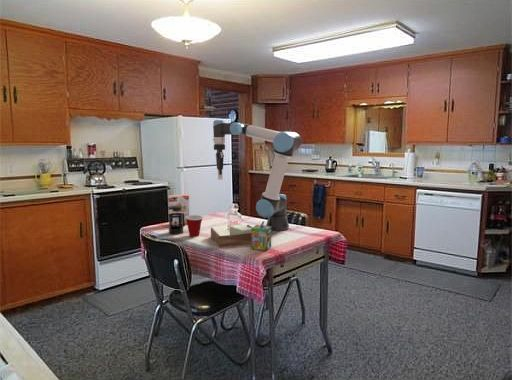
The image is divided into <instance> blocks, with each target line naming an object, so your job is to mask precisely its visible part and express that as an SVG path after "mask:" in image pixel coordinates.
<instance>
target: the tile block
mask: <svg viewBox="0 0 512 380" xmlns="http://www.w3.org/2000/svg"><path fill="white" fill-rule="evenodd" d="M228 227H229V235H235V234H245V233H251V230H252V228H249V227H247V225H242V224H234V225H229V226H228Z"/></svg>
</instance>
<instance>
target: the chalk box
mask: <svg viewBox="0 0 512 380" xmlns="http://www.w3.org/2000/svg"><path fill="white" fill-rule="evenodd" d="M264 223H265V220H263V221H262V222H261V224H260V225H259V224H256V225H254V226H252V227H253V228H252V230H251V234H252V244H251V250H257V251H265V252H266V251H268V250H269V249H270V248H272V230H271V226H266V225H264Z"/></svg>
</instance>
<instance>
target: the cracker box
mask: <svg viewBox="0 0 512 380" xmlns="http://www.w3.org/2000/svg"><path fill="white" fill-rule="evenodd" d="M172 197H178V198H176V200H174V198H172ZM167 198H168V207H169V206H182V210H181V211H176V213H184V222H185V226H188V225H187V221H186V218H185V217H186V216H189V215H190V195H189V194H171V195H168V197H167ZM171 213H175V211H173V210H172V209H171V210H169V209H168V214H171ZM172 216H175V215H172ZM176 216H178V215H176ZM176 221H178V222H179V217H178V218H176ZM173 222H175V218H173ZM173 226H177V225H173ZM182 226H183V222H182Z"/></svg>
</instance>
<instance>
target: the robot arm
mask: <svg viewBox="0 0 512 380" xmlns="http://www.w3.org/2000/svg"><path fill="white" fill-rule="evenodd" d="M212 125H213V126H212V130H213V138H212V141H213V150H214V151H216V153H215V161H216V162H215V163H216V169H217V180H223V170H224V157H225V155H224V152H223V151H225V150H226V135H229V136H230V135H236V136H237V135H239V136H245V137H250V138H253V139H258V140H261V141H262V140H263V141H264V142H265V141H266V142H270V143H272V145H273V147H274V148H273V154H274V158H273V160H272V161H273V162H272V165H271V169H270V173H269V176H268V180H267V184H266V188H265V191H263V192H262V193H261V197H260V199H259V200H258V201H257V202H256V205H255V210H256V212H257V214H258V215H259V216H260V217H262V218H267V222H266V225H265V226H271V231H279V232H280V231H287V230H289V228H290V224H289V221H288V217H287V196H286V194H283V193H280V192H281V187H282V184H283V181H284V177H285V173H286V170H287V166H288V164H289V159H290V158H291V159H292V158H293V154H294V151H297V150H298V149H299V148H300V147H301V145H302V138H301V135H300V134H298V133H297V132H294V131H286V130H285V131H277V130H273V129H268V128H264V127H261V126H255V125H251V124H248V123H245V122H243V123H240V122H227V123H226V122H225V120H224V119H214V120H213V123H212Z"/></svg>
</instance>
